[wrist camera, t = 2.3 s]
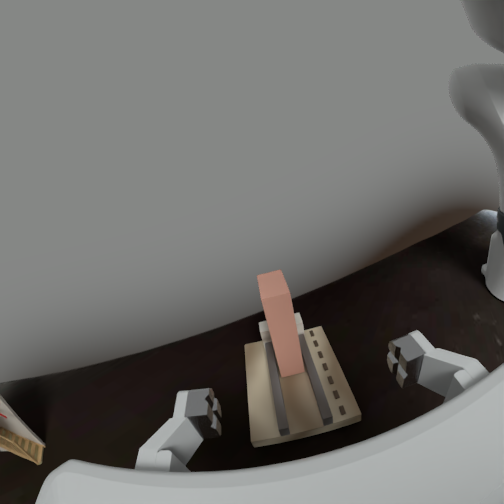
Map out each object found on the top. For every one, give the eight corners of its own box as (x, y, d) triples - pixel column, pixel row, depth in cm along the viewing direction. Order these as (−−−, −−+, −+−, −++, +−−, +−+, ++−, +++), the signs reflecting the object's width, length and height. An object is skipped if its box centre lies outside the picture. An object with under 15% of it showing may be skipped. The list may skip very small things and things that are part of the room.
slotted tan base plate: (321, 333, 40) (318, 307, 39) (360, 420, 24) (363, 395, 22) (246, 351, 41) (238, 327, 39) (254, 447, 24) (242, 425, 22)
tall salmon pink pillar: (296, 343, 37) (280, 269, 33) (304, 371, 32) (289, 292, 28) (275, 348, 37) (256, 275, 33) (281, 377, 32) (261, 299, 28)
